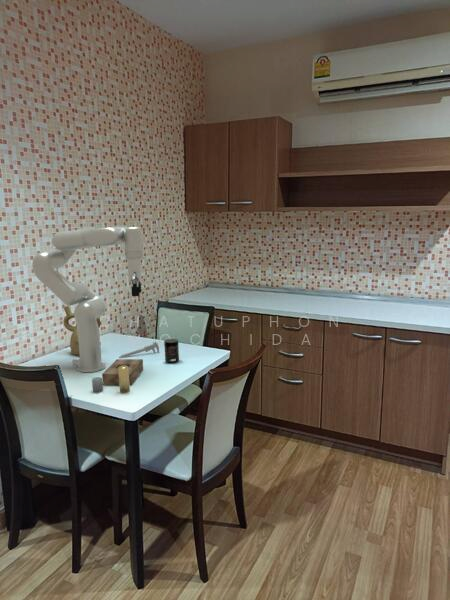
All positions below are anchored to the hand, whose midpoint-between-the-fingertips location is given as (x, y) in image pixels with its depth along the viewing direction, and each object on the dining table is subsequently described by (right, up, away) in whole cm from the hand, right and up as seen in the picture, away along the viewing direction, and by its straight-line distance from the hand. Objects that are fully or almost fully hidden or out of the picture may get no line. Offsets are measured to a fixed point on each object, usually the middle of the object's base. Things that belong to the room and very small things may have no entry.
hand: (136, 294), depth 205 cm
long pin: (-1, -39, -19) cm, 43 cm away
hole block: (-5, -36, -2) cm, 37 cm away
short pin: (-12, -39, -18) cm, 45 cm away
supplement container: (+14, -32, +18) cm, 39 cm away
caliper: (-4, -31, +30) cm, 43 cm away
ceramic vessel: (-34, -30, +37) cm, 59 cm away
